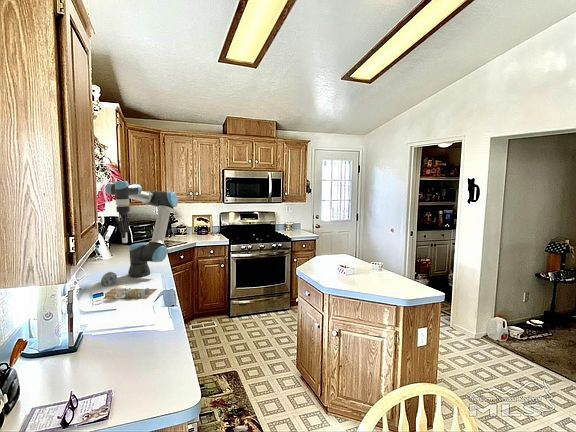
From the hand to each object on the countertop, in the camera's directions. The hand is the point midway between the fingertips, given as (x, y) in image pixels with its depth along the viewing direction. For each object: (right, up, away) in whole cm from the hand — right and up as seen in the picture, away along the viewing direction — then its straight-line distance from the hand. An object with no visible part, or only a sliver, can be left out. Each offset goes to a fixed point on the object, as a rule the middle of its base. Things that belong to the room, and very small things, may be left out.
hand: (125, 242), depth 223 cm
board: (+6, -32, -9) cm, 34 cm away
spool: (-16, -30, +12) cm, 36 cm away
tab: (+13, -31, -14) cm, 37 cm away
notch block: (+13, -31, -13) cm, 36 cm away
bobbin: (+4, -31, -15) cm, 35 cm away
